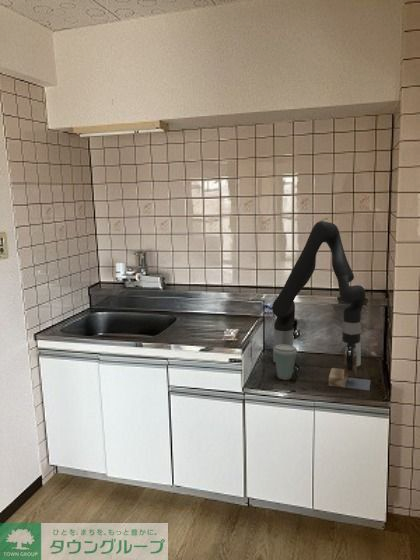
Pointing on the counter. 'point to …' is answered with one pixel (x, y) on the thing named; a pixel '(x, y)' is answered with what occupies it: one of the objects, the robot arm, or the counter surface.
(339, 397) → the counter surface
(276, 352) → the disposable coffee cup
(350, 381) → the rubber mat
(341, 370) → the beech step
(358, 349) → the skincare box
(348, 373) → the walnut block
